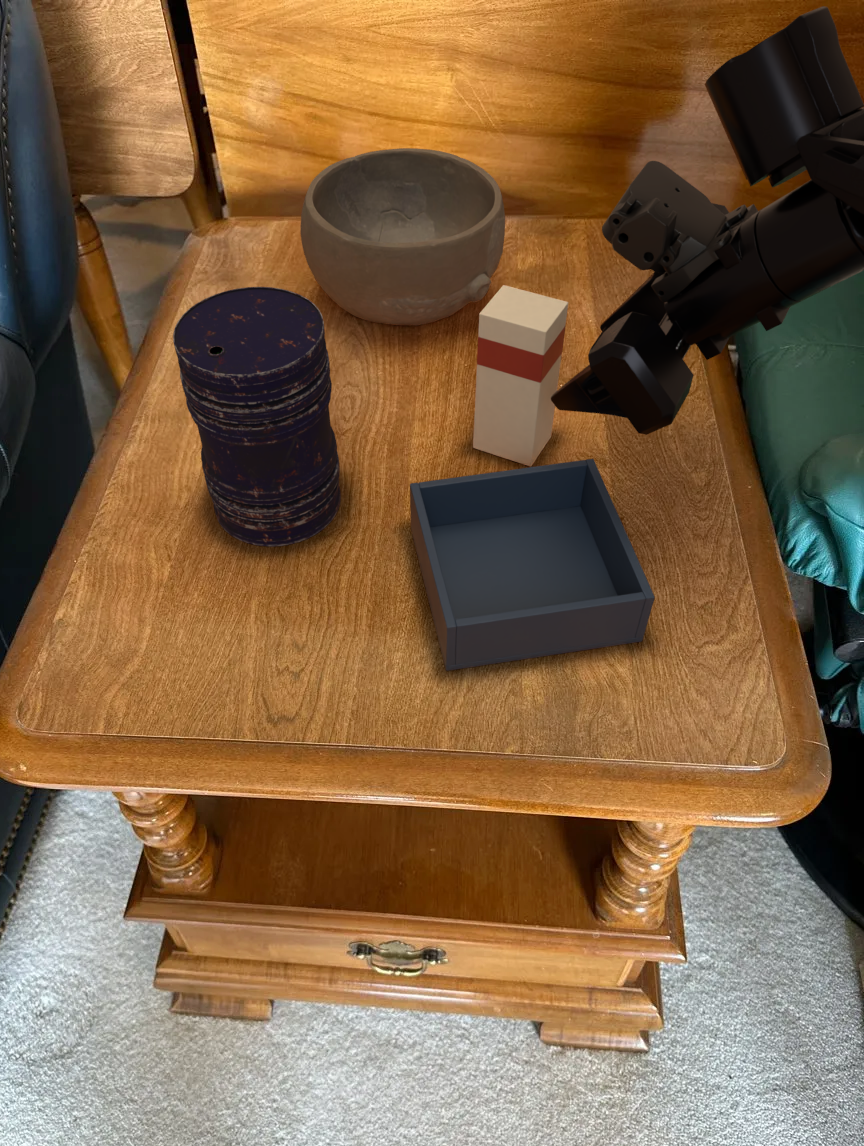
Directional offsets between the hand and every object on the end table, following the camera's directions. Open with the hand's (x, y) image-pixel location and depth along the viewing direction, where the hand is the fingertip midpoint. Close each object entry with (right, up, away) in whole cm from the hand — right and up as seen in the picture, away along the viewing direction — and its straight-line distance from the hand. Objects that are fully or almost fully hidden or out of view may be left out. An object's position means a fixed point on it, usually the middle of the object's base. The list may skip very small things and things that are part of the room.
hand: (580, 366), depth 67 cm
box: (-4, -15, -1) cm, 16 cm away
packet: (-4, -4, +8) cm, 10 cm away
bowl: (-12, +12, +22) cm, 28 cm away
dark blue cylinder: (-22, -9, +5) cm, 24 cm away
